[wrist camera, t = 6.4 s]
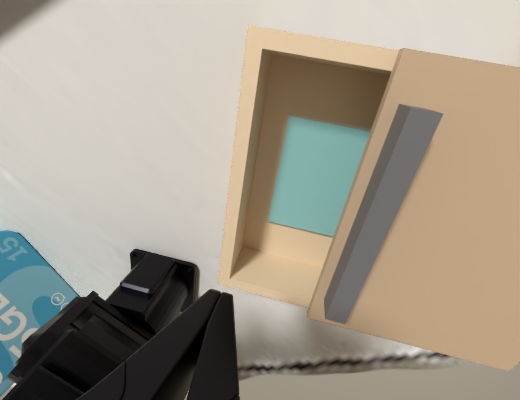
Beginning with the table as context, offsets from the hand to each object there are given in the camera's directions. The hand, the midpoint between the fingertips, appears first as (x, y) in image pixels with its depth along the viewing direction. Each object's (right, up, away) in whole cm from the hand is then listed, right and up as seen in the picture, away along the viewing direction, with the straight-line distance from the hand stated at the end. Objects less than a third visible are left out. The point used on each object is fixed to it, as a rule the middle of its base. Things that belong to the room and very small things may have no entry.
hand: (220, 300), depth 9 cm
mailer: (+7, +5, +10) cm, 13 cm away
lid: (+12, +1, +5) cm, 13 cm away
